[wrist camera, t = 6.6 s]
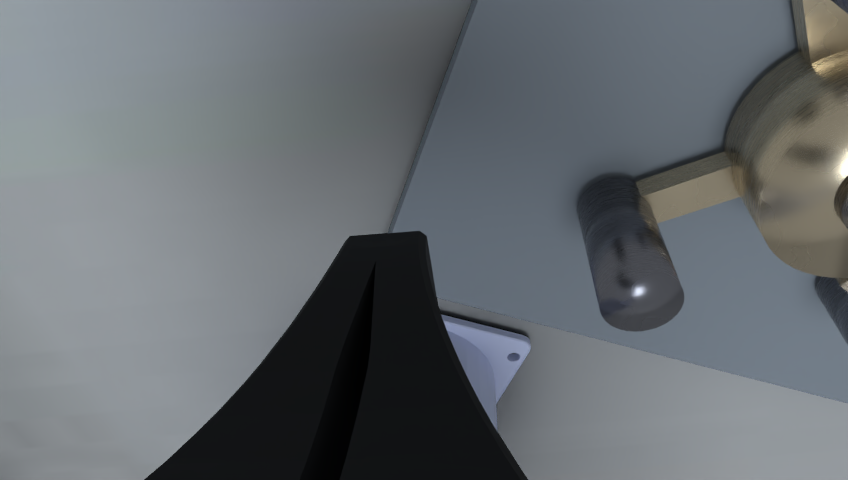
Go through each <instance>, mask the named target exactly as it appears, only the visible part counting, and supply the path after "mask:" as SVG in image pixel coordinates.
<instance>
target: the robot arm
mask: <svg viewBox="0 0 848 480" xmlns="http://www.w3.org/2000/svg"><path fill="white" fill-rule="evenodd" d="M530 349H531V345H530V340H529V339H528V338H527V337H526V336H524V335H521V334H517V333H513V332H509V331H505V330H501V329H497V328H493V327H489V326H485V325H481V324H477V323H473V322H469V321H465V320H461V319H457V318H453V317H450V316H446V315H442V314H441V313H440V310H439V307H438V302H437V296H436V290H435V283H434V277H433V271H432V265H431V259H430V253H429V246H428V240H427V236H426V235H425V234H424V233H422V232H421V231H410V232H397V233H384V234H371V235H358V236H350V237H349V238H348V239H347V240H346V241H345V243H344V244H343V246H342V248H341V249H340V251H339V252H338V254H337V256H336V257H335V259H334V261H333V262H332V264H331V266H330V267H329V269H328V270H327V272H326V273H325V275H324V277H323V278H322V280H321V281H320V283H319V284H318V286H317V287H316V289H315V290H314V292H313V293H312V295H311V296H310V298H309V299H308V301H307V302H306V304H305V305H304V306H303V308H302V309H301V311H300V312H299V314H298V315H297V316H296V318H295V319H294V321H293V322H292V324H291V325H290V326H289V328H288V329H287V330H286V332H285V333H284V334H283V336H282V337H281V338H280V339H279V341H278V342H277V343H276V345H275V346H274V347H273V348H272V350H271V351H270V352H269V354H268V355H267V356H266V357H265V359H264V360H263V361H262V362H261V364H260V365H259V366H258V367H257V369H256V370H255V371H254V372H253V373H252V374H251V376H250V377H249V378H248V379H247V380H246V381H245V383H244V384H243V385H242V386H241V387H240V388H239V389H238V390H237V391H236V393H235V394H234V395H233V396H232V397H231V398H230V399H229V400H228V401H227V402H226V403H225V404H224V406H223V407H222V408H221V409H220V410H219V411H218V412H217V413H216V414H215V415H214V416H213V417H212V418H211V419H210V420H209V421H208V422H207V423H206V424H205V425H204V426H203V427H202V428H201V429H200V430H199V431H198V432H197V433H196V434H195V435H194V436H192V437H191V438H190V439H189V440H188V441H187V442H186V443H185V444H184V445H183V446H182V447H181V448H180V449H179V450H178V451H177V452H175V453H174V454H173V455H172V456H171V457H170V458H169V459H168V460H167V461H166V462H165V463H163V464H162V465H161V466H160V467H159V468H158V469H156V470H155V471H154V472H153V473H152V474H150V475H149V476H148V477H147V478H146V479H145V480H528V479H527V477H526V476H525V475H524V473H523V472H522V470H521V468H520V467H519V465H518V464H517V462H516V460H515V459H514V457H513V456H512V454H511V453H510V451H509V449H508V448H507V446H506V445H505V443H504V442H503V440H502V438H501V437H500V435H499V434H498V427H497V409H496V404H497V402H498V401H499V399H500V397H501V396H502V394H503V393H504V391H505V390H506V388H507V386H508V385H509V383H510V382H511V380H512V379H513V377H514V375H515V374H516V372H517V371H518V369H519V368H520V366H521V364H522V363H523V361H524V360H525V358H526V357H527V355H528V353H529V352H530ZM511 353H516V354H511Z"/></svg>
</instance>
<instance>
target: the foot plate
mask: <svg viewBox="0 0 848 480" xmlns="http://www.w3.org/2000/svg"><path fill="white" fill-rule="evenodd" d="M797 52H799V50H798V43H797V36H796V29H795V21H794V14H793V7H792V0H472V3H471V6H470V9H469V11H468V14H467V17H466V20H465V22H464V25H463V28H462V31H461V33H460V36H459V39H458V42H457V44H456V47H455V50H454V52H453V55H452V58H451V61H450V63H449V66H448V69H447V72H446V74H445V77H444V80H443V83H442V85H441V88H440V91H439V94H438V96H437V99H436V102H435V105H434V107H433V110H432V113H431V116H430V118H429V121H428V124H427V127H426V129H425V132H424V135H423V138H422V140H421V143H420V146H419V149H418V151H417V154H416V157H415V160H414V162H413V165H412V168H411V171H410V173H409V176H408V179H407V182H406V184H405V187H404V190H403V192H402V195H401V198H400V201H399V203H398V206H397V209H396V212H395V214H394V217H393V220H392V223H391V225H390V228H389V231H388V233H397V232H410V231H421V232H422V233H424V234H425V235H426V236H427V240H428V246H429V253H430V259H431V265H432V271H433V277H434V283H435V290H436V296H437V298H440V299H444V300H448V301H451V302H455V303H459V304H463V305H467V306H471V307H475V308H479V309H483V310H486V311H490V312H494V313H498V314H502V315H506V316H510V317H514V318H518V319H521V320H525V321H529V322H533V323H537V324H541V325H545V326H549V327H553V328H557V329H560V330H564V331H568V332H572V333H576V334H580V335H584V336H588V337H592V338H595V339H599V340H603V341H607V342H611V343H615V344H619V345H623V346H627V347H630V348H634V349H638V350H642V351H646V352H650V353H654V354H658V355H662V356H666V357H669V358H673V359H677V360H681V361H685V362H689V363H693V364H697V365H701V366H704V367H708V368H712V369H716V370H720V371H724V372H728V373H732V374H736V375H739V376H743V377H747V378H751V379H755V380H759V381H763V382H767V383H771V384H775V385H778V386H782V387H786V388H790V389H794V390H798V391H802V392H806V393H810V394H813V395H817V396H821V397H825V398H829V399H833V400H837V401H841V402H845V403H848V345H847V343H846V342H845V340H844V338H843V337H842V335H841V333H840V332H839V330H838V328H837V327H836V325H835V324H834V322H833V320H832V319H831V317H830V315H829V314H828V312H827V310H826V309H825V307H824V305H823V304H822V302H821V300H820V299H819V297H818V295H817V292H816V287H817V284H818V281H819V280H820V278H821V277H822V276H816V275H812V274H808V273H805V272H802V271H800V270H797V269H794V268H793V267H791V266H789V265H787V264H786V263H784V262H783V261H782V260H780V259H779V258H778V257H777V256H776V255H775V254H774V253H773V252H772V251H771V249H770V248H769V247H768V245H767V243H766V241H765V240H764V238H763V236H762V234H761V233H760V231H759V229H758V227H757V226H756V224H755V222H754V220H753V219H752V217H751V215H750V213H749V212H748V210H747V208H746V206H745V205H744V203H743V201H742V199H741V198H740V197H738V198H735V199H732V200H729V201H726V202H723V203H719V204H716V205H713V206H710V207H707V208H704V209H701V210H698V211H695V212H692V213H688V214H685V215H682V216H679V217H676V218H673V219H670V220H667V221H664V222H660V223H658V226H659V229H660V231H661V234H662V236H663V239H664V242H665V244H666V247H667V249H668V252H669V255H670V257H671V260H672V263H673V265H674V268H675V270H676V273H677V276H678V278H679V281H680V283H681V286H682V289H683V291H684V303H683V306H682V308H681V310H680V311H679V313H678V314H677V315H676V316H675V317H674V318H673V319H672V320H670V321H669V322H667V323H666V324H664V325H662V326H660V327H657V328H654V329H651V330H646V331H637V332H634V331H624V330H620V329H617V328H615V327H613V326H611V325H610V324H608V323H607V322H606V321H605V320H604V319H603V317H602V315H601V313H600V309H599V305H598V300H597V296H596V292H595V288H594V283H593V279H592V275H591V271H590V266H589V262H588V258H587V253H586V249H585V245H584V241H583V236H582V232H581V228H580V224H579V219H578V215H577V203H578V200H579V198H580V196H581V195H582V193H583V192H584V191H585V190H586V189H587V188H588V187H589V186H591V185H592V184H594V183H596V182H597V181H600V180H603V179H606V178H611V177H623V178H628V179H631V180H633V181H635V182H636V181H639V180H642V179H645V178H648V177H651V176H654V175H657V174H660V173H662V172H665V171H668V170H671V169H674V168H677V167H680V166H683V165H686V164H689V163H691V162H694V161H697V160H700V159H703V158H706V157H709V156H712V155H715V154H718V153H720V152H723V151H724V146H725V140H726V135H727V132H728V129H729V126H730V123H731V121H732V119H733V117H734V115H735V113H736V111H737V109H738V107H739V106H740V104H741V103H742V101H743V100H744V98H745V97H746V96H747V95H748V93H749V92H750V91H751V90H752V88H753V87H754V86H755V85H756V84H757V83H758V82H759V81H760V80H761V79H762V78H763V77H764V76H765V75H766V74H767V73H769V72H770V71H771V70H772V69H773V68H775V67H776V66H777V65H778V64H780V63H781V62H783V61H784V60H786V59H787V58H789V57H790V56H792V55H794V54H795V53H797Z"/></svg>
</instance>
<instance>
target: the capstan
mask: <svg viewBox="0 0 848 480" xmlns="http://www.w3.org/2000/svg"><path fill="white" fill-rule="evenodd" d="M792 7H793V14H794V21H795V29H796V36H797V43H798V50H799V52H797V53H795V54H794V55H792V56H790V57H789V58H787V59H786V60H784V61H783V62H781V63H780V64H778V65H777V66H776V67H775V68H773V69H772V70H771V71H770V72H769V73H767V74H766V75H765V76H764V77H763V78H762V79H761V80H760V81H759V82H758V83H757V84H756V85H755V86H754V87H753V88H752V90H751V91H750V92H749V93H748V95H747V96H746V97H745V98H744V100H743V101H742V103H741V104H740V106H739V107H738V109H737V111H736V113H735V115H734V117H733V119H732V121H731V123H730V126H729V129H728V132H727V135H726V140H725V146H724V151H723V152H720V153H718V154H715V155H712V156H709V157H706V158H703V159H700V160H697V161H694V162H691V163H689V164H686V165H683V166H680V167H677V168H674V169H671V170H668V171H665V172H662V173H660V174H657V175H654V176H651V177H648V178H645V179H642V180H639V181H636V182H635V181H633V180H631V179H628V178H623V177H611V178H606V179H603V180H600V181H597V182H596V183H594V184H592V185H591V186H589V187H588V188H587V189H586V190H585V191H584V192H583V193H582V195H581V196H580V198H579V200H578V203H577V215H578V219H579V224H580V228H581V232H582V236H583V241H584V245H585V249H586V253H587V258H588V262H589V266H590V271H591V275H592V279H593V283H594V288H595V292H596V296H597V300H598V305H599V309H600V313H601V315H602V317H603V319H604V320H605V321H606V322H607V323H608V324H610V325H611V326H613V327H615V328H617V329H620V330H624V331H634V332H637V331H646V330H651V329H654V328H657V327H660V326H662V325H664V324H666V323H667V322H669V321H670V320H672V319H673V318H674V317H675V316H676V315H677V314H678V313H679V311H680V310H681V308H682V306H683V303H684V291H683V289H682V286H681V283H680V281H679V278H678V276H677V273H676V270H675V268H674V265H673V263H672V260H671V257H670V255H669V252H668V249H667V247H666V244H665V242H664V239H663V236H662V234H661V231H660V229H659V226H658V223H660V222H664V221H667V220H670V219H673V218H676V217H679V216H682V215H685V214H688V213H692V212H695V211H698V210H701V209H704V208H707V207H710V206H713V205H716V204H719V203H723V202H726V201H729V200H732V199H735V198H738V197H740V198H741V199H742V201H743V203H744V205H745V206H746V208H747V210H748V212H749V213H750V215H751V217H752V219H753V220H754V222H755V224H756V226H757V227H758V229H759V231H760V233H761V234H762V236H763V238H764V240H765V241H766V243H767V245H768V247H769V248H770V249H771V251H772V252H773V253H774V254H775V255H776V256H777V257H778V258H779V259H780V260H782V261H783V262H784V263H786V264H787V265H789V266H791V267H793V268H794V269H797V270H800V271H802V272H805V273H808V274H812V275H816V276H822V277H821V278H820V280H819V281H818V284H817V287H816V292H817V295H818V297H819V299H820V300H821V302H822V304H823V305H824V307H825V309H826V310H827V312H828V314H829V315H830V317H831V319H832V320H833V322H834V324H835V325H836V327H837V328H838V330H839V332H840V333H841V335H842V337H843V338H844V340H845V342H846V343H847V345H848V0H792Z"/></svg>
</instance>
